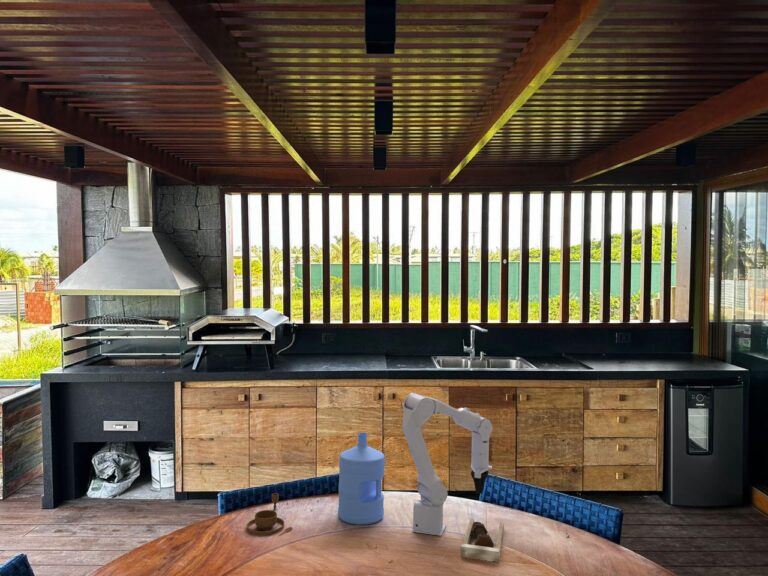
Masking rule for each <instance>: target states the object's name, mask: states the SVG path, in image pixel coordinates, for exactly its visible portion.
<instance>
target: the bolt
mask: <svg viewBox="0 0 768 576" xmlns="http://www.w3.org/2000/svg"><path fill="white" fill-rule="evenodd" d="M471 531H472V535H473V537H474V538H476V539H475V541H474V543H473V545H476V546H483V547H490V548H495V543H494V542H493V540H492V538H491V536H490V534H488V530H487V528H486V526H485V524H484V523H481V522H480V521H474V524H473V528H472V530H471Z"/></svg>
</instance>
